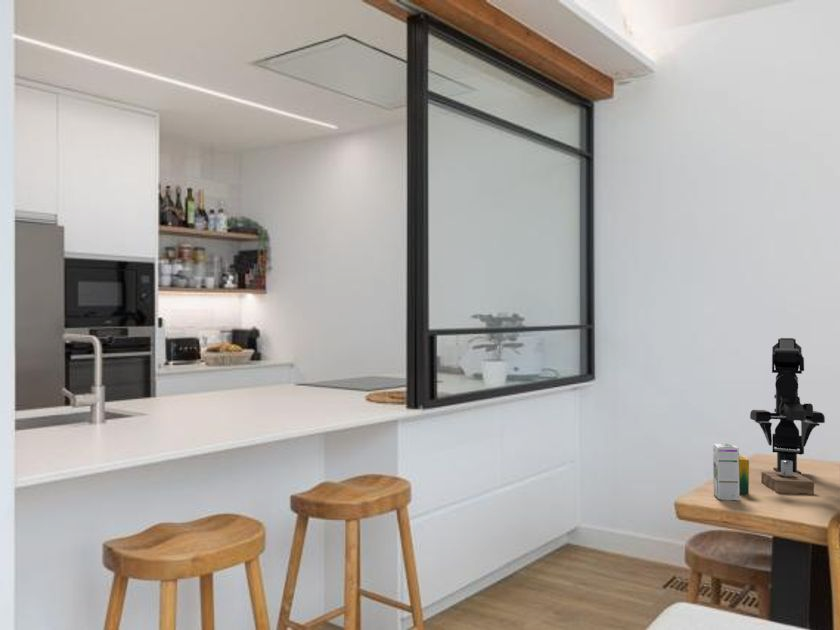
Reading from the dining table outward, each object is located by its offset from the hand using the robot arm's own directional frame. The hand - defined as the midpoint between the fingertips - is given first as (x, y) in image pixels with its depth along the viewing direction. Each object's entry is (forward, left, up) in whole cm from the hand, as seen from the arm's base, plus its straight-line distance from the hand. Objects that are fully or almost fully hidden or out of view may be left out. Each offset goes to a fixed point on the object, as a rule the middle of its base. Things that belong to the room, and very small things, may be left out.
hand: (786, 445), depth 203 cm
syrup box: (+14, -21, -13) cm, 28 cm away
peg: (0, 0, -12) cm, 12 cm away
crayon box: (+6, -15, -13) cm, 21 cm away
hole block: (0, 0, -12) cm, 12 cm away
